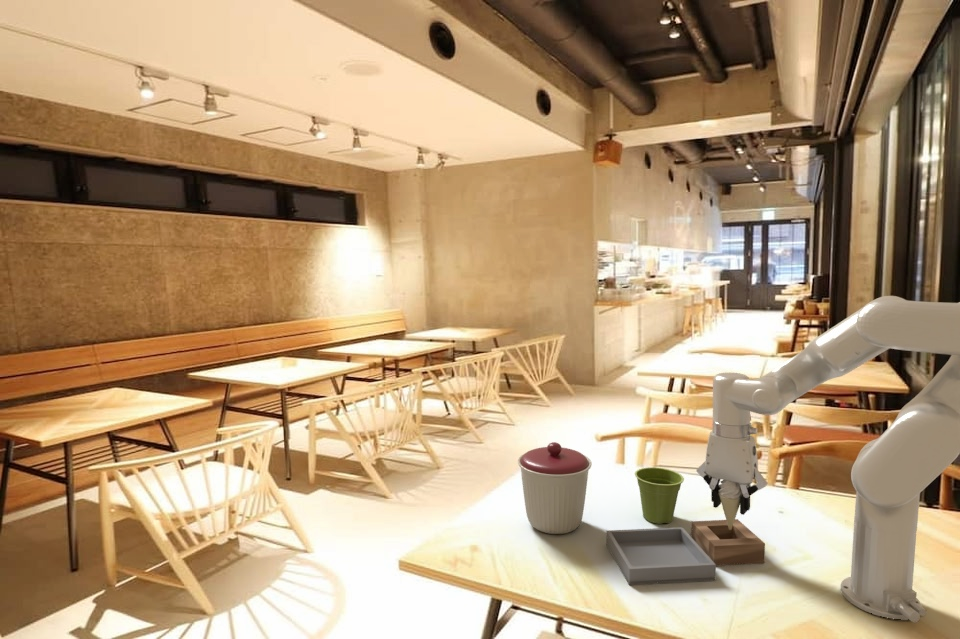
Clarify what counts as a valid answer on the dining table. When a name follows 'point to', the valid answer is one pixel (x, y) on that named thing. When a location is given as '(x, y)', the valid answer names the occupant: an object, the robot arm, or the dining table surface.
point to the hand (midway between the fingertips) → (730, 508)
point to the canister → (554, 487)
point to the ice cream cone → (730, 500)
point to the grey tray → (659, 556)
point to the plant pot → (658, 493)
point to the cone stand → (728, 542)
